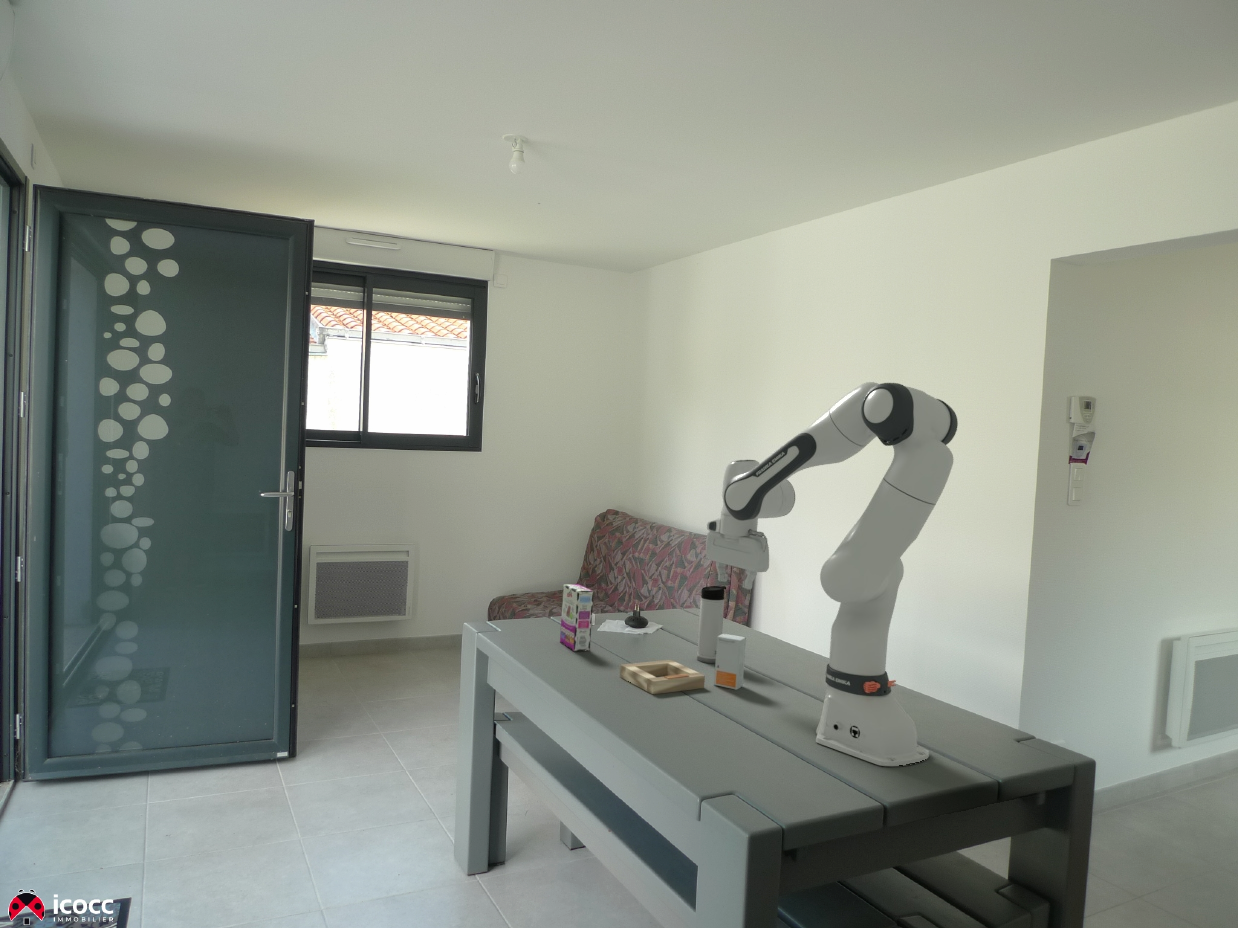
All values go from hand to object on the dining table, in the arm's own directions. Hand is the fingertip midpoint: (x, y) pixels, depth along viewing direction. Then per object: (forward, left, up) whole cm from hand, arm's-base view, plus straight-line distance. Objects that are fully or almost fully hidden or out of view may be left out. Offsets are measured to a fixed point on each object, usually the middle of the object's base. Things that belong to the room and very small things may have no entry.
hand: (734, 584), depth 204 cm
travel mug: (+21, -10, -25) cm, 34 cm away
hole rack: (+8, +14, -24) cm, 29 cm away
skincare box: (0, 0, -25) cm, 25 cm away
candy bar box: (+45, +18, -25) cm, 54 cm away
